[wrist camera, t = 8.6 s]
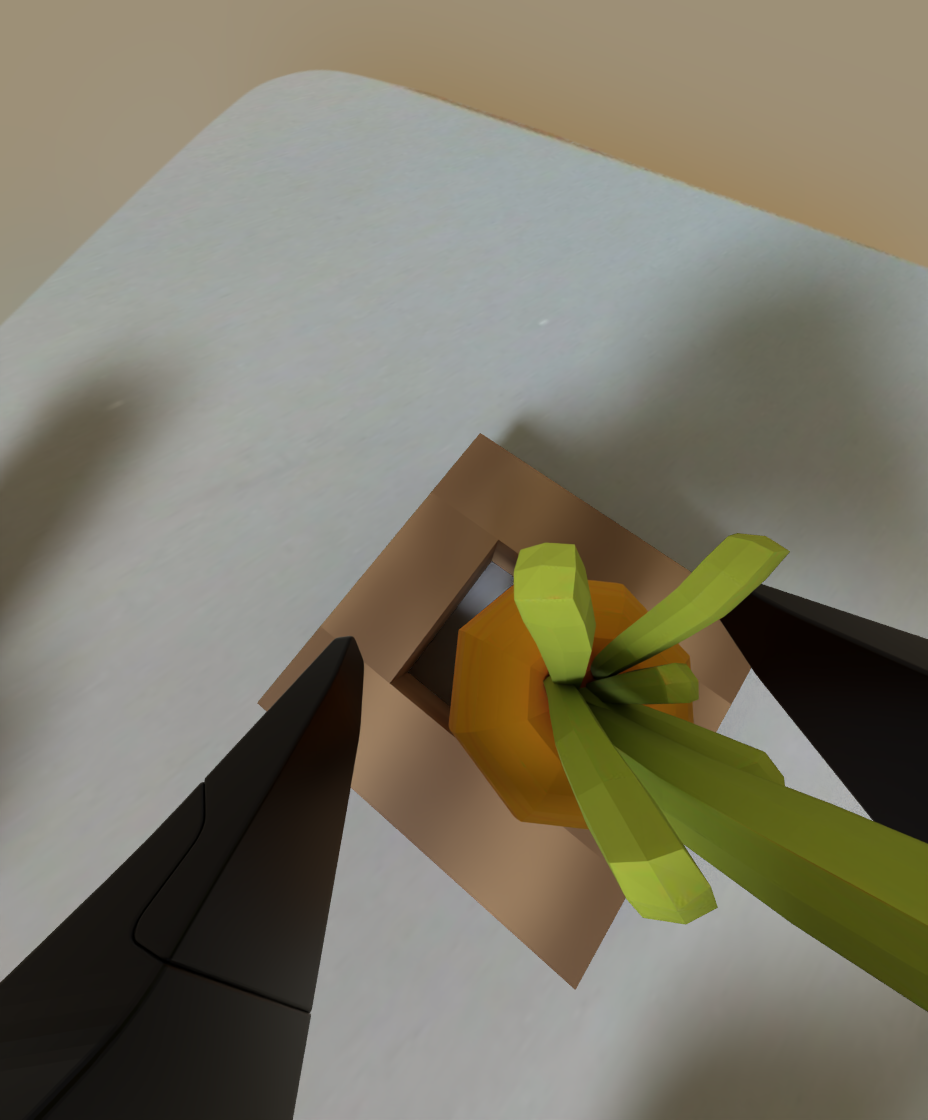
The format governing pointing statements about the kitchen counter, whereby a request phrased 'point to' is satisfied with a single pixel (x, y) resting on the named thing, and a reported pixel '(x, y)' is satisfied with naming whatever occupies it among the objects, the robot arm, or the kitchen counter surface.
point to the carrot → (671, 760)
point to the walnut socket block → (423, 718)
